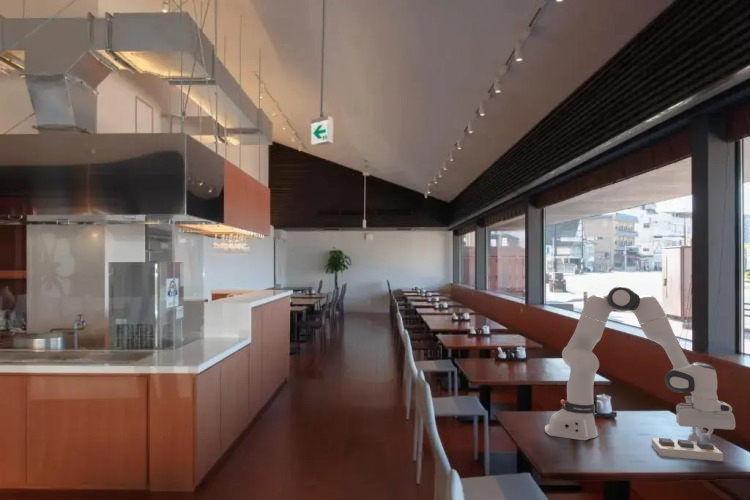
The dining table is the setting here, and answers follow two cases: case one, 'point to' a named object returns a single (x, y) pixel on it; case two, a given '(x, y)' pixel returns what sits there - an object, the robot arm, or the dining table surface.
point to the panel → (687, 451)
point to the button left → (666, 442)
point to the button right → (705, 445)
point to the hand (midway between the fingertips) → (705, 438)
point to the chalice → (693, 435)
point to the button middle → (685, 443)
